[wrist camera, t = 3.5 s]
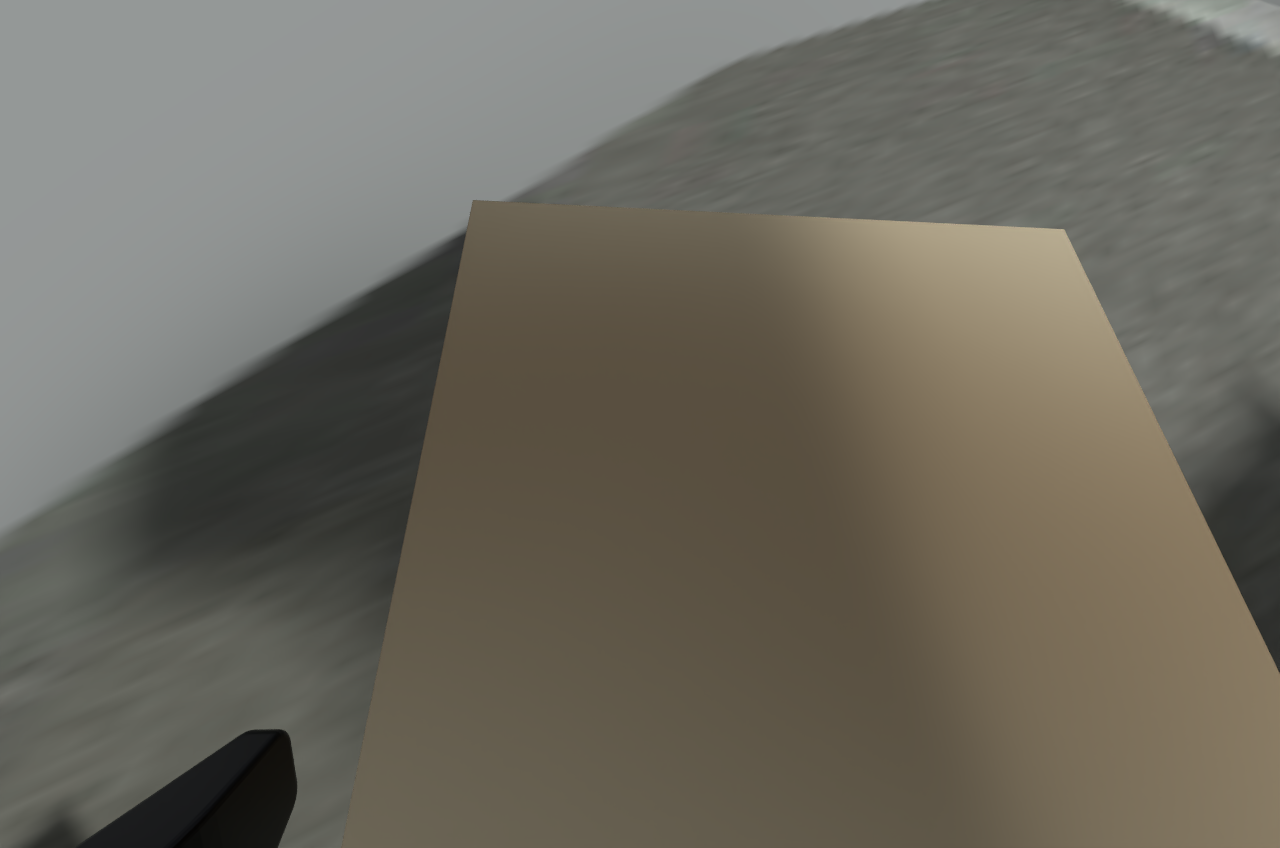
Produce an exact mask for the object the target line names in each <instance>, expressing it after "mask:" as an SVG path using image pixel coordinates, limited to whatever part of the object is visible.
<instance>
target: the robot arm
mask: <svg viewBox="0 0 1280 848" xmlns="http://www.w3.org/2000/svg"><path fill="white" fill-rule="evenodd" d="M296 795H297V778H296V772H295V765H294V759H293V753H292V747H291V741H290V737H289V735H288V733H287V732H286V731H284V730H280V729H268V730H250V731H247V732H245V733H243V734H241V735H240V736H238V737H237V738H235V739H234V740H232V741H231V742H229V743H228V744H226V745H225V746H223V747H222V748H221V749H219V750H218V751H216V752H215V753H213V754H212V755H210V756H209V757H207V758H206V759H204V760H203V761H201V762H200V763H198V764H197V765H195V766H194V767H193V768H191V769H190V770H188V771H187V772H185V773H184V774H182V775H181V776H179V777H178V778H176V779H175V780H173V781H172V782H170V783H169V784H167V785H166V786H165V787H163V788H162V789H160V790H159V791H157V792H156V793H154V794H153V795H151V796H150V797H148V798H147V799H145V800H144V801H142V802H141V803H140V804H138V805H137V806H135V807H134V808H132V809H131V810H129V811H128V812H126V813H125V814H123V815H122V816H120V817H119V818H117V819H116V820H114V821H113V822H112V823H110V824H109V825H107V826H106V827H104V828H103V829H101V830H100V831H98V832H97V833H95V834H94V835H92V836H91V837H89V838H88V839H86V840H85V841H84V842H82V843H81V844H79V845H78V846H76V847H75V848H278V846H279V843H280V840H281V838H282V835H283V833H284V830H285V828H286V825H287V823H288V820H289V818H290V815H291V813H292V810H293V807H294V804H295V800H296Z"/></svg>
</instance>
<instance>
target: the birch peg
mask: <svg viewBox="0 0 1280 848" xmlns="http://www.w3.org/2000/svg"><path fill="white" fill-rule="evenodd" d="M341 848H1280V673H1279V671H1278V669H1277V667H1276V665H1275V663H1274V661H1273V659H1272V656H1271V654H1270V652H1269V650H1268V648H1267V646H1266V644H1265V642H1264V640H1263V638H1262V636H1261V634H1260V632H1259V630H1258V628H1257V626H1256V624H1255V621H1254V619H1253V617H1252V615H1251V613H1250V611H1249V609H1248V607H1247V605H1246V603H1245V601H1244V599H1243V597H1242V595H1241V593H1240V591H1239V589H1238V586H1237V584H1236V582H1235V580H1234V578H1233V576H1232V574H1231V572H1230V570H1229V568H1228V566H1227V564H1226V562H1225V560H1224V558H1223V556H1222V554H1221V551H1220V549H1219V547H1218V545H1217V543H1216V541H1215V539H1214V537H1213V535H1212V533H1211V531H1210V529H1209V527H1208V525H1207V523H1206V521H1205V519H1204V516H1203V514H1202V512H1201V510H1200V508H1199V506H1198V504H1197V502H1196V500H1195V498H1194V496H1193V494H1192V492H1191V490H1190V488H1189V486H1188V484H1187V481H1186V479H1185V477H1184V475H1183V473H1182V471H1181V469H1180V467H1179V465H1178V463H1177V461H1176V459H1175V457H1174V455H1173V453H1172V451H1171V449H1170V446H1169V444H1168V442H1167V440H1166V438H1165V436H1164V434H1163V432H1162V430H1161V428H1160V426H1159V424H1158V422H1157V420H1156V418H1155V416H1154V414H1153V411H1152V409H1151V407H1150V405H1149V403H1148V401H1147V399H1146V397H1145V395H1144V393H1143V391H1142V389H1141V387H1140V385H1139V383H1138V381H1137V379H1136V376H1135V374H1134V372H1133V370H1132V368H1131V366H1130V364H1129V362H1128V360H1127V358H1126V356H1125V354H1124V352H1123V350H1122V348H1121V346H1120V344H1119V341H1118V339H1117V337H1116V335H1115V333H1114V331H1113V329H1112V327H1111V325H1110V323H1109V321H1108V319H1107V317H1106V315H1105V313H1104V311H1103V309H1102V306H1101V304H1100V302H1099V300H1098V298H1097V296H1096V294H1095V292H1094V290H1093V288H1092V286H1091V284H1090V282H1089V280H1088V278H1087V276H1086V274H1085V271H1084V269H1083V267H1082V265H1081V263H1080V261H1079V259H1078V257H1077V255H1076V253H1075V251H1074V249H1073V247H1072V245H1071V243H1070V241H1069V239H1068V236H1067V234H1066V232H1065V230H1064V229H1046V228H1026V227H1005V226H985V225H965V224H945V223H924V222H904V221H884V220H864V219H844V218H823V217H803V216H783V215H763V214H742V213H722V212H702V211H682V210H662V209H641V208H621V207H601V206H581V205H560V204H540V203H520V202H500V201H478V200H473V202H472V208H471V212H470V217H469V222H468V227H467V232H466V237H465V242H464V247H463V252H462V257H461V261H460V266H459V271H458V276H457V281H456V286H455V291H454V296H453V301H452V306H451V311H450V316H449V320H448V325H447V330H446V335H445V340H444V345H443V350H442V355H441V360H440V365H439V370H438V375H437V379H436V384H435V389H434V394H433V399H432V404H431V409H430V414H429V419H428V424H427V429H426V434H425V438H424V443H423V448H422V453H421V458H420V463H419V468H418V473H417V478H416V483H415V488H414V493H413V497H412V502H411V507H410V512H409V517H408V522H407V527H406V532H405V537H404V542H403V547H402V551H401V556H400V561H399V566H398V571H397V576H396V581H395V586H394V591H393V596H392V601H391V606H390V610H389V615H388V620H387V625H386V630H385V635H384V640H383V645H382V650H381V655H380V660H379V665H378V669H377V674H376V679H375V684H374V689H373V694H372V699H371V704H370V709H369V714H368V719H367V724H366V728H365V733H364V738H363V743H362V748H361V753H360V758H359V763H358V768H357V773H356V778H355V783H354V787H353V792H352V797H351V802H350V807H349V812H348V817H347V822H346V827H345V832H344V837H343V842H342V846H341Z"/></svg>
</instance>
